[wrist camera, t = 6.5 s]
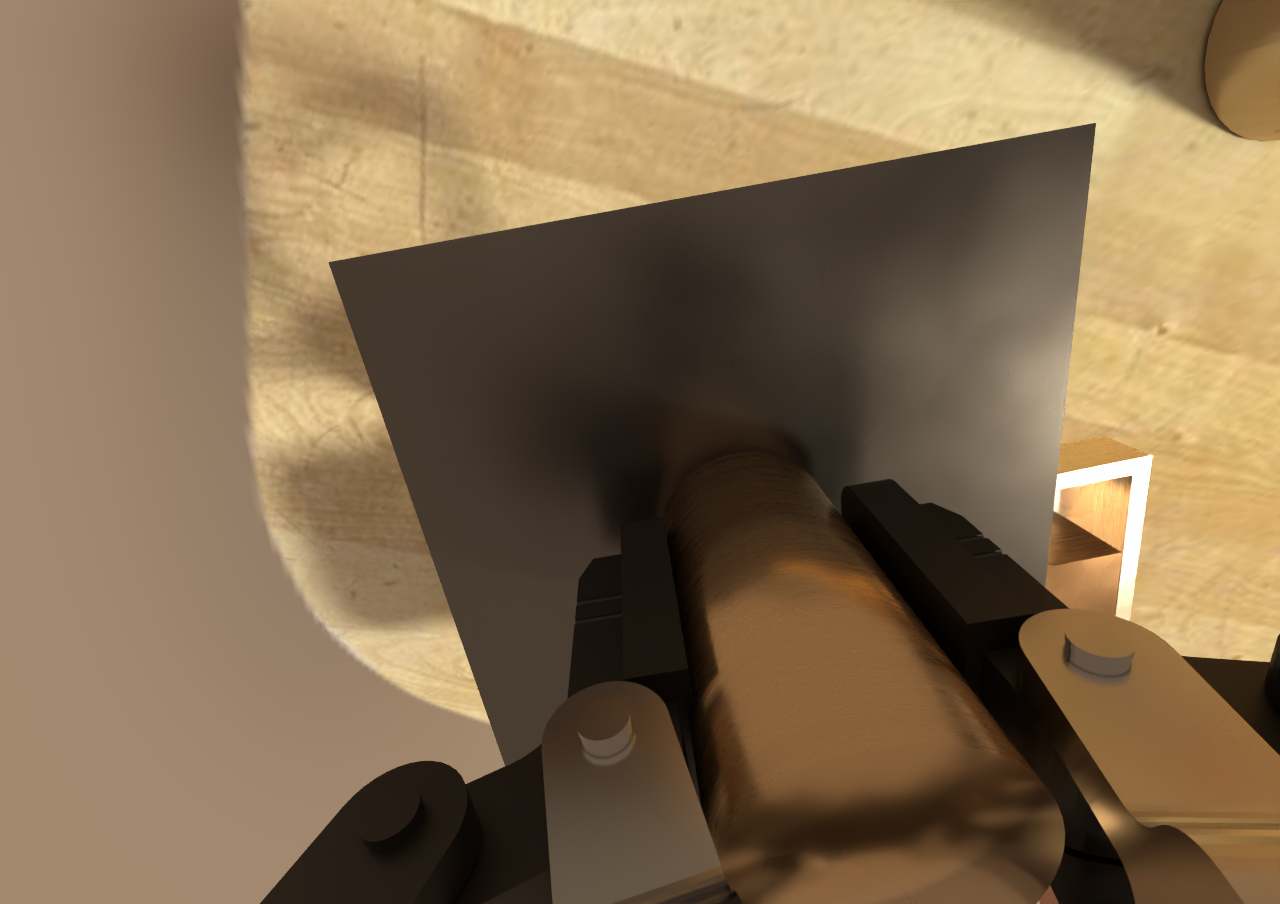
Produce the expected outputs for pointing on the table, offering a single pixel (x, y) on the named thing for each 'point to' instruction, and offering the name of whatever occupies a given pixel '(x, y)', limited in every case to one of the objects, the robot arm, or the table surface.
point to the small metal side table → (759, 482)
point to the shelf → (1097, 525)
